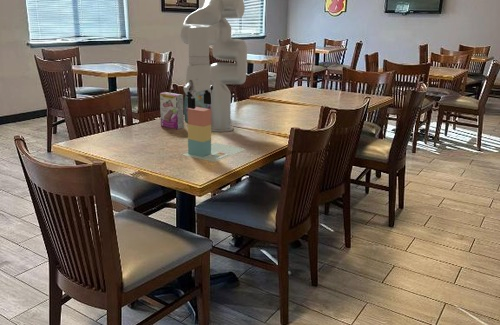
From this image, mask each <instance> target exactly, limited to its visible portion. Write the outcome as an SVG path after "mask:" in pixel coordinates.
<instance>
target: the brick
mask: <svg viewBox="0 0 500 325" xmlns="http://www.w3.org/2000/svg"><path fill="white" fill-rule="evenodd" d="M188 124H191V125H196V126H201V127H204V126H208V125H211V109H207V108H200V107H195V109H191V108H189V109H188V122H187V125H188Z"/></svg>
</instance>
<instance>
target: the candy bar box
mask: <svg viewBox="0 0 500 325" xmlns="http://www.w3.org/2000/svg"><path fill="white" fill-rule="evenodd" d="M159 109H160V111H159V112H160V115H159V116H160V127H163V128H168V129H174V130H181V129H184V128H185V120H184V94H180V93H173V92H167V91H164V92H160V93H159Z"/></svg>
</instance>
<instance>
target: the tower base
mask: <svg viewBox="0 0 500 325" xmlns="http://www.w3.org/2000/svg"><path fill="white" fill-rule="evenodd" d="M211 144H212V131H211V125H208V126H204V127H201V126H196V125H191V124H188V123H187V151H188V152H187V153H188V154H192V155H196V156H201V157H205V156H208V155H210V154H211Z"/></svg>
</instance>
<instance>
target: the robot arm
mask: <svg viewBox="0 0 500 325" xmlns="http://www.w3.org/2000/svg"><path fill="white" fill-rule="evenodd" d="M245 7H246V6H245V3H244V0H203V3H202V6H201V8H198V9H197V10H195V11H193V12H191V13H190V14H188V15H187V16H186V17H185V19H184V22H183V23H182V26H181V30H180V38H181V41H182V42H183V43H184V44H186V45H188V65H187V66H186V67H187V68H186V74H185V75H186V76H185V78H186V79H185V84H184V86H183V88H182V89H183V92H184V95H186V97H187V98H188V108H191V109H195V98H194V96H195V94H196V93H197V92H202V91H204V92H205V93H204V104H211V132H213V133H214V132H215V133H227V132H231V131H232V132H233V131H234V126H233V125H232V124H231V109H232V107H231V105H232V103H231V100H232V99H231V98H232V96H231V95H232V94H231V91H230V89H229V88H228V85H244V83H245V82H246V81H247V80H246V79H247V65H248V64H247V63H248V46H247V43H246V41H245V40H243V39H240V38H232V26H231V24H230V22H229V21H228V19H240V18H242V17H243V16H244V14H245V10H246V9H245ZM210 46H212V56H213V58H215V59H216V60H220V61H221V60H222V61H235V62H236V63H233V62H214V63H212V64H210ZM225 84H226V85H225ZM191 92H192V94H191Z"/></svg>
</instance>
